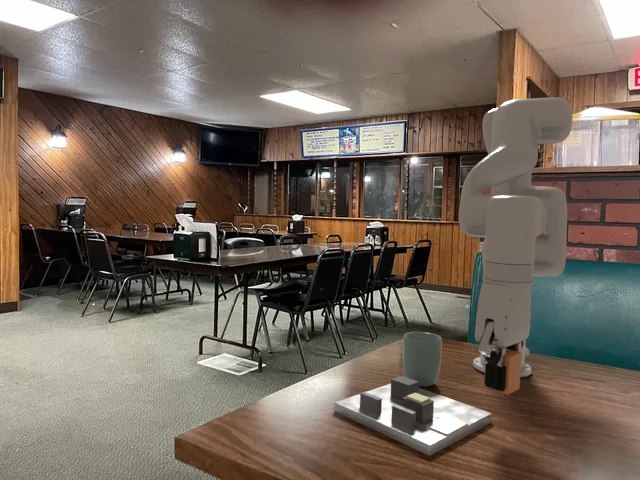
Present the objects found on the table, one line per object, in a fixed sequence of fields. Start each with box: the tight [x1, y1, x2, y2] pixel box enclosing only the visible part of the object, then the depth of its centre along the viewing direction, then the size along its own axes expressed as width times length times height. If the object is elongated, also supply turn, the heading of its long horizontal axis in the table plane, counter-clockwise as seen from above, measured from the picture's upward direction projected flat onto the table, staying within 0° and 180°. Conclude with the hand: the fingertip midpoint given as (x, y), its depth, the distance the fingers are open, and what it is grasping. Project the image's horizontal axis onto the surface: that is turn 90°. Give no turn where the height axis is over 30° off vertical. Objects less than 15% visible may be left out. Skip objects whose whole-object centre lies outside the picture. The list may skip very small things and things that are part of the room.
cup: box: [402, 331, 443, 388], centre depth 100 cm, size 8×8×10 cm
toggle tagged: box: [403, 393, 434, 424], centre depth 79 cm, size 3×4×3 cm
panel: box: [334, 383, 493, 456], centre depth 83 cm, size 18×20×4 cm
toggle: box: [390, 375, 420, 400], centre depth 88 cm, size 3×4×3 cm
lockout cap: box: [483, 348, 522, 396], centre depth 78 cm, size 4×4×6 cm
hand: (502, 383), depth 78 cm, fingers closed on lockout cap, 4 cm apart
